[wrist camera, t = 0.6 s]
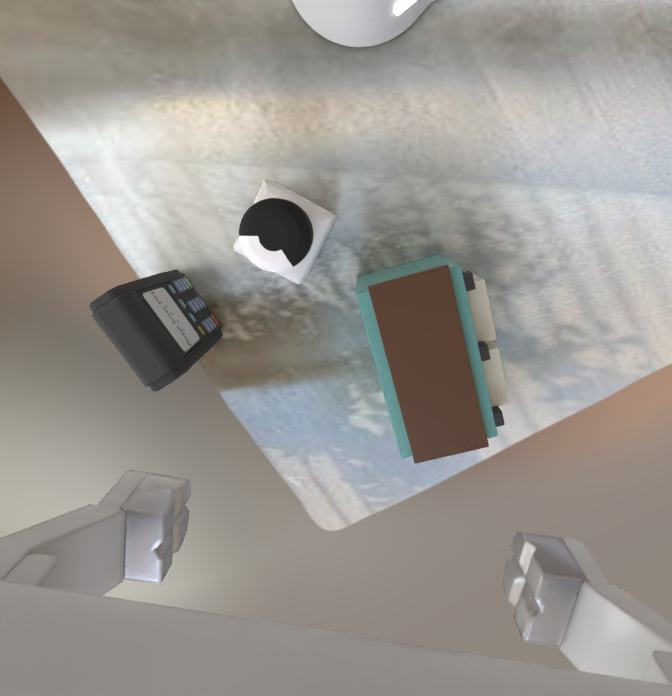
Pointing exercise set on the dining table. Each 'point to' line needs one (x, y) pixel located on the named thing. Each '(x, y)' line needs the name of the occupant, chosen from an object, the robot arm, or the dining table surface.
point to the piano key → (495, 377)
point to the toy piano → (429, 357)
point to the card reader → (157, 326)
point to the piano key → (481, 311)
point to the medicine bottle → (283, 232)
